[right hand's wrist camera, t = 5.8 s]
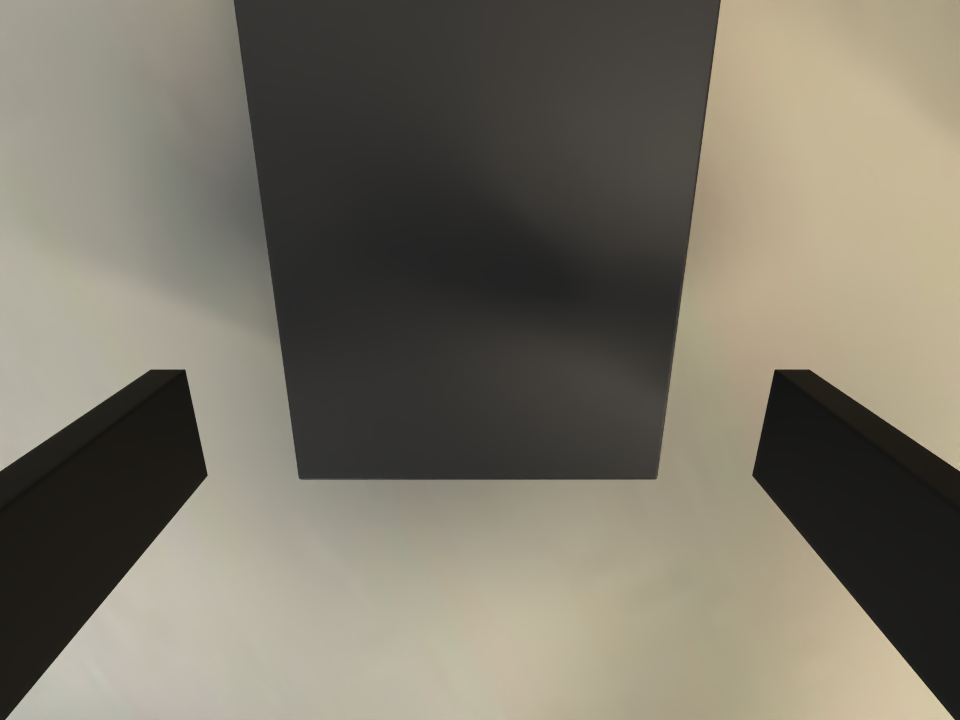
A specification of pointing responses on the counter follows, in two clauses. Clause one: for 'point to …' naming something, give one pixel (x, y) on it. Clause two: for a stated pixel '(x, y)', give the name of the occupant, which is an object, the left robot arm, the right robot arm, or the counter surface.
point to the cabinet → (477, 227)
